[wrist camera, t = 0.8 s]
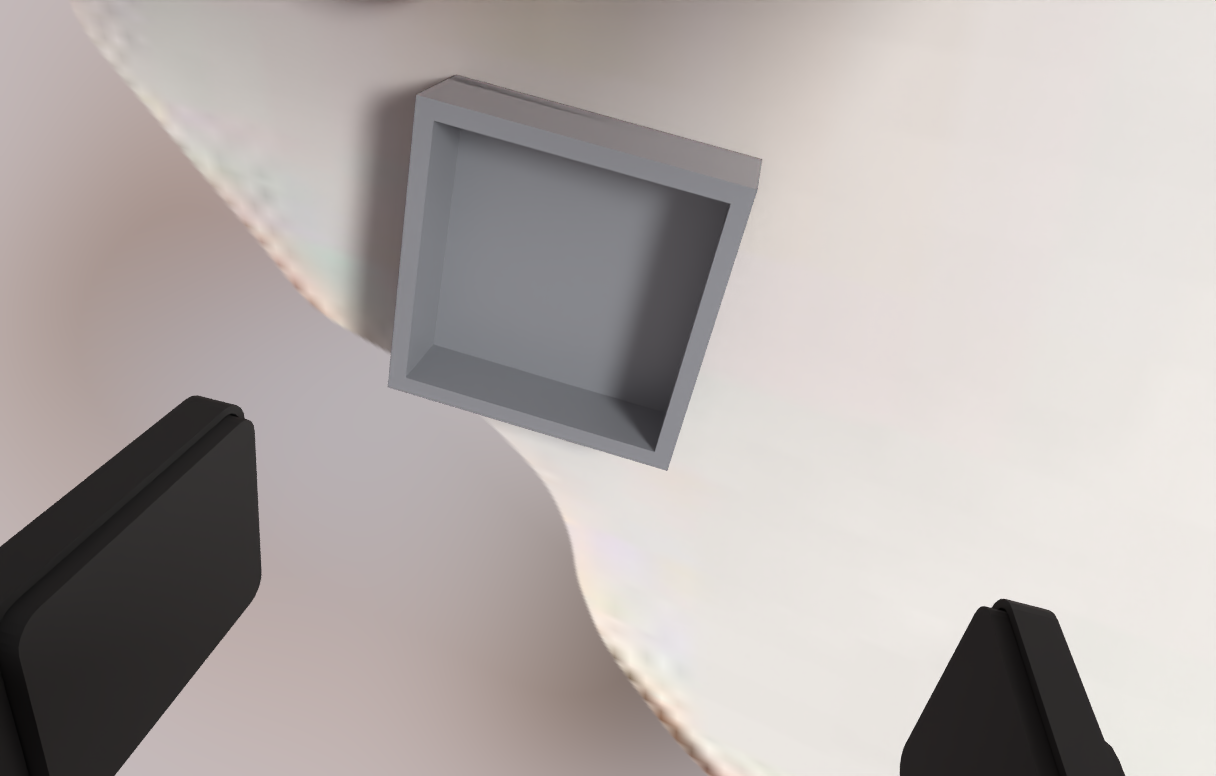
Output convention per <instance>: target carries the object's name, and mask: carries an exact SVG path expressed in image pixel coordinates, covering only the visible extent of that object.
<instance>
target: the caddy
mask: <svg viewBox="0 0 1216 776" xmlns="http://www.w3.org/2000/svg"><path fill="white" fill-rule="evenodd" d="M761 163H762V159H759V158H756V157H752V156H749V155H745V154H741V153H738V152H734V151H730V150H727V149H723V148H720V147H716V146H712V145H709V144H705V143H702V142H698V141H694V140H691V139H687V138H683V137H680V136H676V135H673V134H669V133H665V132H662V131H658V130H654V129H651V128H647V127H644V126H640V125H636V124H633V123H629V122H626V121H622V120H618V119H615V118H611V117H607V116H604V115H600V114H597V113H593V112H589V111H586V110H582V109H578V108H575V107H571V106H568V105H564V104H560V103H557V102H553V101H549V100H546V99H542V98H539V97H535V96H531V95H528V94H524V93H521V92H517V91H513V90H510V89H506V88H502V87H499V86H495V85H492V84H488V83H484V82H481V81H477V80H473V79H470V78H466V77H463V76H459V75H455V76H453V77H451V78H449V79H447V80H445V81H443V82H441V83H439V84H437V85H435V86H433V87H431V88H429V89H427V90H425V91H423V92H420V93H418V94H416V102H415V112H414V123H413V133H412V143H411V154H410V164H409V174H408V184H407V195H406V205H405V215H404V226H403V236H402V246H401V256H400V267H399V277H398V287H397V298H396V308H395V318H394V329H393V339H392V349H391V359H390V370H389V380H388V387H389V388H393V389H396V390H399V391H403V392H406V393H410V394H413V395H416V396H419V397H423V398H426V399H429V400H433V401H436V402H439V403H443V404H446V405H449V406H453V407H456V408H460V409H463V410H466V411H469V412H473V413H476V414H479V415H483V416H486V417H489V418H493V419H496V420H499V421H503V422H506V423H509V424H513V425H516V426H519V427H523V428H526V429H529V430H533V431H536V432H539V433H543V434H546V435H549V436H553V437H556V438H559V439H563V440H566V441H569V442H573V443H576V444H580V445H583V446H586V447H590V448H593V449H596V450H600V451H603V452H606V453H610V454H613V455H616V456H620V457H623V458H626V459H630V460H633V461H636V462H640V463H643V464H646V465H650V466H653V467H656V468H660V469H663V470H666V471H667V470H668V467H669V464H670V461H671V457H672V454H673V451H674V448H675V445H676V442H677V439H678V436H679V433H680V429H681V426H682V423H683V420H684V417H685V414H686V411H687V408H688V404H689V401H690V398H691V395H692V392H693V389H694V386H695V383H696V380H697V376H698V373H699V370H700V367H701V364H702V361H703V358H704V355H705V351H706V348H707V345H708V342H709V339H710V336H711V333H712V330H713V327H714V323H715V320H716V317H717V314H718V311H719V308H720V305H721V302H722V299H723V295H724V292H725V289H726V286H727V283H728V280H729V277H730V274H731V270H732V267H733V264H734V261H735V258H736V255H737V252H738V249H739V246H740V242H741V239H742V236H743V233H744V230H745V227H746V224H747V221H748V217H749V214H750V211H751V208H752V205H753V202H754V199H755V196H756V193H757V189H758V183H759V176H760V170H761Z"/></svg>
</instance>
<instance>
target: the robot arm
mask: <svg viewBox="0 0 1216 776" xmlns="http://www.w3.org/2000/svg"><path fill="white" fill-rule="evenodd" d="M255 451H256V450H255V431H254V425H253V424H252V422H251V421H249V420H247V419H245V418H244V413H243V411H242V409H241V408H240V407H238V406H237V405H233V404H229V403H225V402H221V401H217V400H213V399H209V398H205V397H201V396H191V397H189V398H188V399H186V400H185V401H183V402H182V403H181V404H179V405H178V406H177V407H176V408H175V409H173V410H172V411H171V412H169V413H168V414H167V415H166V416H164V417H163V418H162V419H161V420H159V421H158V422H157V423H156V424H154V425H153V426H152V427H150V428H149V429H148V430H147V431H145V432H144V433H143V434H142V435H140V436H139V437H138V438H137V439H135V440H134V441H133V442H132V443H130V444H129V445H128V446H127V447H125V448H124V449H123V450H121V451H120V452H119V453H118V454H116V455H115V456H114V457H113V458H112V459H110V460H109V461H108V462H106V463H105V464H104V465H103V466H101V467H100V468H99V469H98V470H96V471H95V472H94V473H93V474H91V475H90V476H89V477H87V478H86V479H85V480H84V481H83V482H81V483H80V484H79V485H77V486H76V487H75V488H74V489H72V490H71V491H70V492H69V493H67V494H66V495H65V496H64V497H62V498H61V499H60V500H59V501H57V502H56V503H55V504H54V505H52V506H51V507H50V508H49V509H47V510H46V511H45V512H43V513H42V514H41V515H40V516H38V517H37V518H36V519H35V520H33V521H32V522H31V523H30V524H28V525H27V526H26V527H25V528H23V529H22V530H21V531H19V532H18V533H17V534H16V535H14V536H13V537H12V538H11V539H9V540H8V541H7V542H6V543H4V544H3V545H2V546H1V547H0V776H115V774H116V773H117V772H118V771H119V769H120V768H121V767H122V765H123V764H124V763H125V762H126V760H127V759H128V758H129V757H130V755H131V754H132V753H133V752H134V750H135V749H136V748H137V746H138V745H139V744H140V742H141V741H142V740H143V739H144V738H145V736H146V735H147V734H148V732H149V731H150V730H151V729H152V727H153V726H154V725H155V724H156V722H157V721H158V720H159V718H160V717H161V716H162V714H163V713H164V712H165V711H166V710H167V708H168V707H169V706H170V705H171V703H172V702H173V701H174V699H175V698H176V697H177V696H178V694H179V693H180V692H181V691H182V689H183V688H184V687H185V686H186V684H187V683H188V682H189V680H190V679H191V678H192V677H193V675H194V674H195V673H196V671H197V670H198V669H199V668H200V666H201V665H202V664H203V662H204V661H205V660H206V659H207V658H208V656H209V655H210V653H211V652H212V651H213V650H214V649H215V647H216V646H217V645H218V644H219V642H220V641H221V640H222V639H223V637H224V636H225V635H226V633H227V632H228V631H229V630H230V628H231V627H232V626H233V625H234V623H235V622H236V621H237V619H238V618H239V617H240V616H241V614H242V613H243V612H244V610H245V609H246V608H247V607H248V606H249V604H250V603H251V602H252V600H253V598H254V597H255V595H256V592H257V590H258V588H259V585H260V580H261V555H260V533H259V513H258V493H257V471H256V452H255ZM900 776H1125V774H1124V772H1123V769H1122V766H1121V764H1120V761H1119V759H1118V757H1117V756H1116V754H1115V752H1114V750H1113V748H1112V747H1111V746H1110V745H1109V744H1108V743H1107V742H1106V741H1105V740H1104V738H1103V735H1102V733H1101V730H1100V728H1099V725H1098V722H1097V720H1096V717H1095V715H1094V712H1093V710H1092V707H1091V704H1090V702H1089V699H1088V697H1087V694H1086V691H1085V689H1084V686H1083V684H1082V681H1081V679H1080V676H1079V673H1078V671H1077V668H1076V666H1075V663H1074V661H1073V658H1072V655H1071V653H1070V650H1069V648H1068V645H1067V642H1066V640H1065V637H1064V635H1063V632H1062V630H1061V627H1060V624H1059V622H1058V620H1057V618H1056V616H1055V614H1054V613H1053V612H1051V611H1050V610H1047V609H1043V608H1039V607H1035V606H1031V605H1027V604H1023V603H1019V602H1015V601H1011V600H1007V599H1000V600H998V601H997V602H996V603H995V604H994V605H993V607H992V608H989V607H985V606H982V607H980V608H979V609H978V610H977V611H976V613H975V614H974V616H973V618H972V620H971V622H970V624H969V626H968V627H967V629H966V631H965V633H964V635H963V637H962V639H961V641H960V642H959V644H958V646H957V648H956V650H955V652H954V654H953V656H952V658H951V659H950V661H949V663H948V665H947V667H946V669H945V671H944V673H943V674H942V676H941V678H940V680H939V682H938V684H937V686H936V688H935V690H934V691H933V693H932V695H931V697H930V699H929V701H928V703H927V705H926V706H925V708H924V710H923V712H922V714H921V716H920V718H919V720H918V722H917V723H916V725H915V727H914V729H913V731H912V733H911V735H910V737H909V738H908V740H907V742H906V744H905V746H904V749H903V752H902V756H901V762H900Z"/></svg>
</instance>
